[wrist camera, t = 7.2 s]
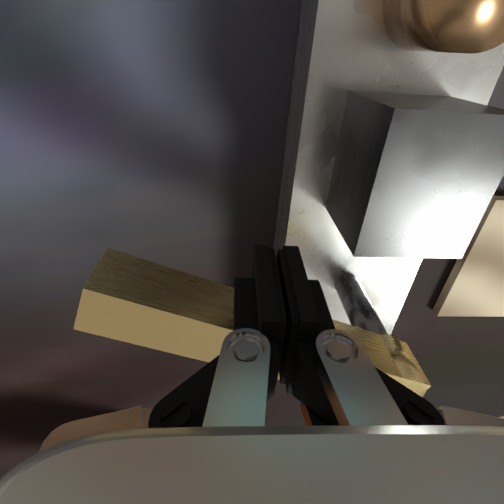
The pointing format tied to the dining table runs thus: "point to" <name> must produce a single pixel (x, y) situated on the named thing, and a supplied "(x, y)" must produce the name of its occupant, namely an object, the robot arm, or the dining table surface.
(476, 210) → the dark grey block
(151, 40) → the dining table surface
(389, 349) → the latch lever
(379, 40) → the plane body
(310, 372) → the robot arm
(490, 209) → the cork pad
